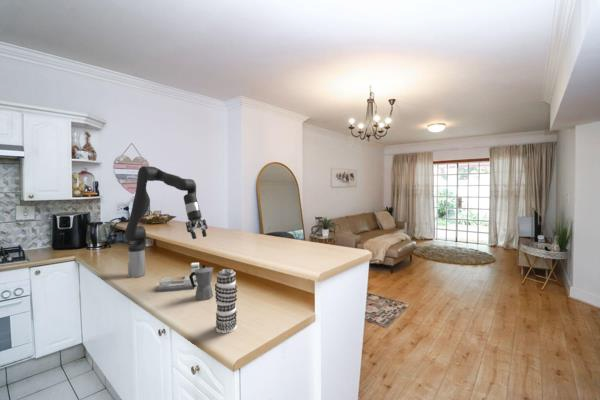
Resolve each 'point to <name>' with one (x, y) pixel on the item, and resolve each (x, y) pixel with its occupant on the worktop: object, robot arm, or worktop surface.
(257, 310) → the worktop surface
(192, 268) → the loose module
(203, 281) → the coffeepot
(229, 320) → the black and white cylinder
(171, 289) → the rail panel
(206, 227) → the robot arm
